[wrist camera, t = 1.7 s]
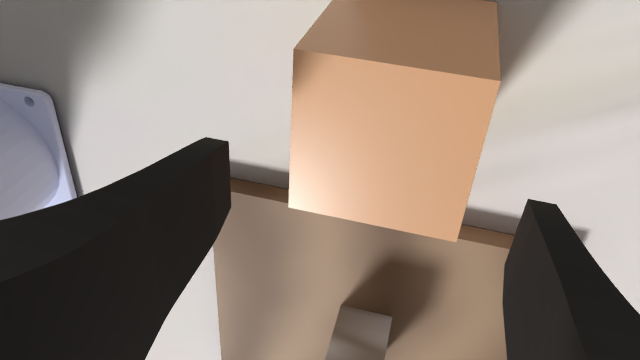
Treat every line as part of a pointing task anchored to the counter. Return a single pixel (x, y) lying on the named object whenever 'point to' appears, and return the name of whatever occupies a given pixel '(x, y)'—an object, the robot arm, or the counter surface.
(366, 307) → the post board
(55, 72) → the counter surface
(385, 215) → the tan rectangular block
